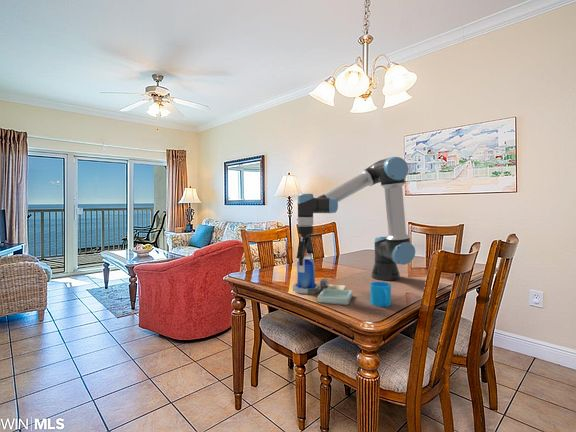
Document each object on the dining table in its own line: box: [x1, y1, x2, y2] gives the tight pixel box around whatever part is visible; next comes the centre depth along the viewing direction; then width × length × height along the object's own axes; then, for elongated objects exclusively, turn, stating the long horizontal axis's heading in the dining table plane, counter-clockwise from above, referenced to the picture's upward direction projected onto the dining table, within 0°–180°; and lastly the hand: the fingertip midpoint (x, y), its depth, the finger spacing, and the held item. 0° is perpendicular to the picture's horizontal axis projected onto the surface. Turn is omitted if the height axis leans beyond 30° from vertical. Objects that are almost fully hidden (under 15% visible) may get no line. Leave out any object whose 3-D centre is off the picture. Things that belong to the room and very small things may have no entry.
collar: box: [292, 282, 320, 295], centre depth 152 cm, size 12×12×2 cm
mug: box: [370, 281, 392, 307], centre depth 129 cm, size 12×8×8 cm
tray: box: [316, 288, 353, 306], centre depth 138 cm, size 13×13×2 cm
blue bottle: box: [296, 255, 316, 288], centre depth 152 cm, size 8×8×16 cm
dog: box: [319, 278, 329, 292], centre depth 151 cm, size 3×4×5 cm
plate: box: [327, 283, 346, 290], centre depth 149 cm, size 8×8×2 cm
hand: (305, 269), depth 152 cm, fingers open, 13 cm apart
